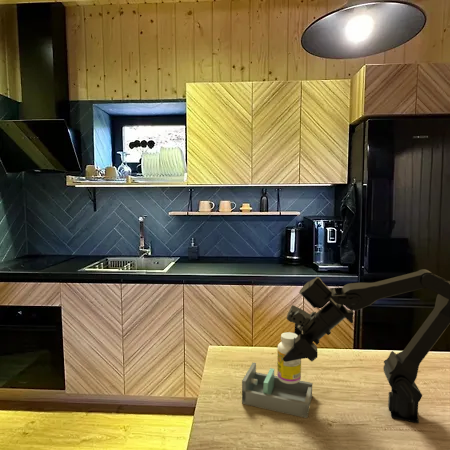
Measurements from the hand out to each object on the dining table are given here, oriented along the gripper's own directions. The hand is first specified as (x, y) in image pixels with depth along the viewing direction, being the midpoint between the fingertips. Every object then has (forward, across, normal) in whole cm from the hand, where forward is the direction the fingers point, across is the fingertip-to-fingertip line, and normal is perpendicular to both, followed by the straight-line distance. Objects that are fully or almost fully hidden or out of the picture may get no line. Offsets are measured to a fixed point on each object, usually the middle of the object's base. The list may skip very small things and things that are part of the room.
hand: (284, 354), depth 100 cm
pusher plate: (+12, 0, +5) cm, 13 cm away
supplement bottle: (+4, 0, +6) cm, 7 cm away
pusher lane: (+11, +1, +8) cm, 13 cm away
